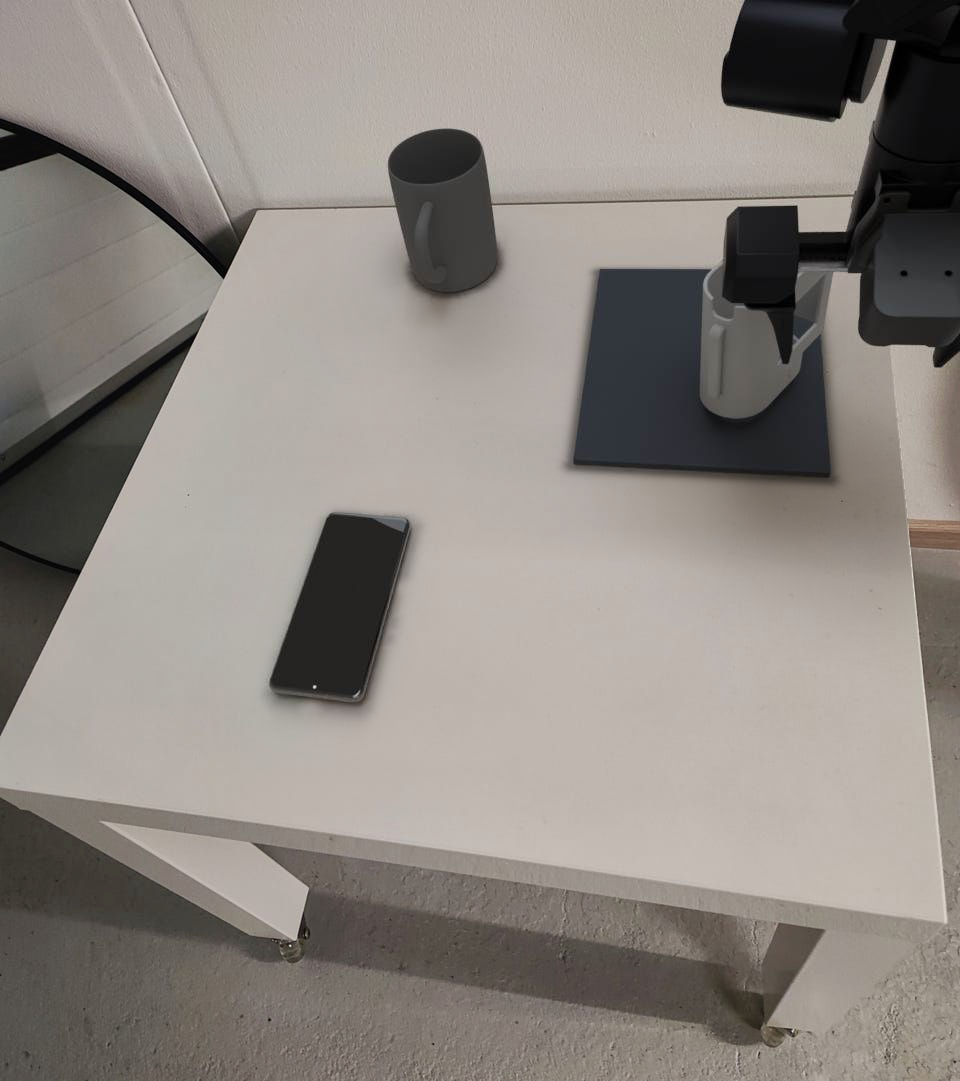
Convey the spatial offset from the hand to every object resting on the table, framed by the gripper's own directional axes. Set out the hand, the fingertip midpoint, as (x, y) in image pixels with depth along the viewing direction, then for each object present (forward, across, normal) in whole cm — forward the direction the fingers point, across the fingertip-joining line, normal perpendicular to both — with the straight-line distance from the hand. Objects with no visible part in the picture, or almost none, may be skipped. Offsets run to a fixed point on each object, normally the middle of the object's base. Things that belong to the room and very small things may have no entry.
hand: (859, 361), depth 53 cm
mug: (+12, -35, +23) cm, 43 cm away
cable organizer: (+12, -5, +10) cm, 16 cm away
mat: (+12, -10, +12) cm, 20 cm away
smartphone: (+12, -35, -15) cm, 40 cm away
